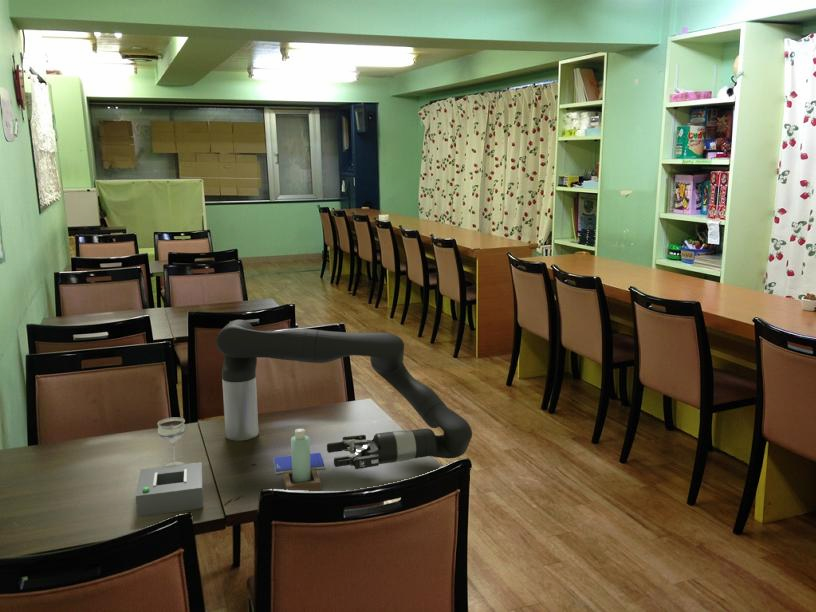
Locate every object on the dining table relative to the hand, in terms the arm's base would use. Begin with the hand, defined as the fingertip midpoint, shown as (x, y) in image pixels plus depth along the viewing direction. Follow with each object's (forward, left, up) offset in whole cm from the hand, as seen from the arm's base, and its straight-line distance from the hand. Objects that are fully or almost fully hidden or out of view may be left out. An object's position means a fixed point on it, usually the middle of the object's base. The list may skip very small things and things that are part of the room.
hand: (330, 455), depth 166 cm
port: (-3, -37, -7) cm, 38 cm away
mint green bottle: (-1, -7, -7) cm, 10 cm away
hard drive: (-13, -6, -8) cm, 17 cm away
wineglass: (-21, -37, -8) cm, 43 cm away
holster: (-1, -7, -7) cm, 10 cm away
